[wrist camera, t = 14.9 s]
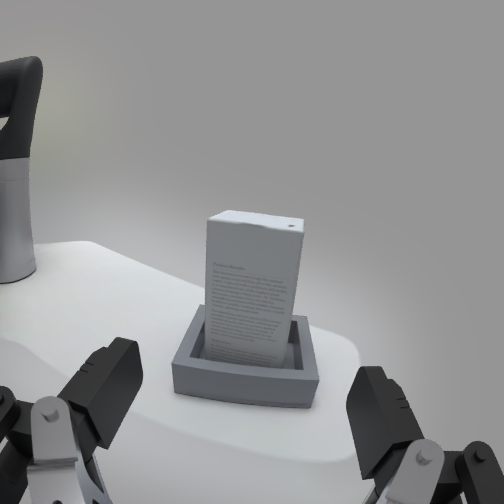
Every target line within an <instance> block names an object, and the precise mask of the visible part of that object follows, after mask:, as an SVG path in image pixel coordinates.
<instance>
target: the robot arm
mask: <svg viewBox="0 0 504 504" xmlns="http://www.w3.org/2000/svg"><path fill="white" fill-rule="evenodd" d="M42 77H43V67H42V62H41V60H40V59H39V58H38V57H36V56H30V57H24V58H19V59H15V60H10V61H6V62H1V63H0V118H4V117H9V118H8V121H7V123H6V124H5V126H4V127H3V128H2V130H0V283H5V282H12V281H16V280H19V279H22V278H24V277H26V276H28V275H30V274H31V273H32V272H33V271H34V270H35V269H36V263H35V256H34V249H33V240H32V231H31V218H30V199H29V160H30V158H28V157H30V146H31V141H32V134H33V125H34V119H35V113H36V107H37V103H38V98H39V94H40V89H41V84H42ZM142 381H143V370H142V364H141V358H140V352H139V346H138V343H137V342H136V341H133V340H129V339H125V338H121V337H116V338H115V339H114V340H113V342H112V343H111V344H110V345H109V347H108V348H107V347H102V348H100V349H99V350H97V351H95V352H93V353H92V354H91V355H90V357H89V358H88V359H87V360H86V361H85V364H83V365H82V366H81V367H80V370H79V371H77V372H76V374H75V375H74V376H73V377H72V378H71V380H70V381H69V382H68V383H67V385H66V386H65V387H64V388H63V390H62V391H61V392H60V394H59V395H58V396H57V397H53V396H49V397H44V398H42V399H39V400H38V401H37V402H36V403H35V404H34V403H28V402H24V401H19V400H16V398H15V396H14V395H13V393H12V391H11V390H10V389H9V388H7V387H4V386H0V443H1V441H2V440H3V439H4V437H6V438H7V440H8V442H7V443H6V445H5V447H4V448H3V450H2V451H1V453H0V504H19V502H20V500H21V498H22V496H23V494H24V492H25V490H26V488H27V485H28V484H29V490H30V496H31V501H32V504H113V503H112V502H111V500H110V498H109V496H108V493H107V490H106V488H105V485H104V482H103V479H102V476H101V473H100V470H99V467H98V464H97V461H96V457H95V454H94V450H95V448H96V447H97V446H99V447H102V448H104V449H107V450H108V448H109V446H110V444H111V442H112V440H113V438H114V436H115V435H116V433H117V431H118V428H119V427H120V425H121V423H122V421H123V419H124V417H125V415H126V413H127V412H128V410H129V408H130V406H131V404H132V402H133V400H134V398H135V396H136V395H137V393H138V391H139V389H140V387H141V385H142ZM346 410H347V415H348V419H349V423H350V427H351V431H352V435H353V439H354V444H355V448H356V452H357V457H358V461H359V466H360V470H361V475H362V480H366V479H372V478H374V482H375V485H374V486H373V487H372V488H371V490H370V492H369V493H368V495H367V496H366V498H365V500H364V501H363V503H362V504H463V503H462V499H461V496H460V494H461V493H462V492H464V494H465V497H466V501H467V504H504V475H503V473H502V471H501V468H500V466H499V464H498V461H497V459H496V457H495V455H494V453H493V451H492V449H491V447H490V446H489V445H487V444H486V443H484V442H481V441H475V442H472V443H470V444H469V445H468V446H467V447H466V448H465V449H464V450H463V451H443V450H442V448H441V447H440V446H439V445H438V444H437V443H436V442H434V441H431V440H428V439H425V438H424V436H423V434H422V432H421V429H420V427H419V425H418V423H417V420H416V418H415V416H414V414H413V412H412V409H411V408H410V406H409V403H408V401H407V400H406V397H405V395H404V393H403V391H402V389H401V387H400V386H399V385H398V384H396V382H395V381H394V380H393V379H387V377H386V375H385V373H384V371H383V369H382V367H380V366H367V367H366V366H362V367H360V368H359V370H358V372H357V374H356V377H355V379H354V382H353V384H352V387H351V389H350V391H349V394H348V396H347V401H346Z"/></svg>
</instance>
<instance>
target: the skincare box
mask: <svg viewBox="0 0 504 504" xmlns="http://www.w3.org/2000/svg"><path fill="white" fill-rule="evenodd" d="M304 225H305V222H304V219H297V218H289V217H280V216H272V215H265V214H257V213H249V212H240V211H231V210H227V211H224V212H222V213H220V214H218V215H215V216H213V217H210V218H209V219H208V220H207V241H206V278H205V360H210V361H217V362H224V363H231V364H239V365H247V366H257V367H267V368H278V369H282V367H283V363H284V358H285V352H286V347H287V342H288V336H289V330H290V324H291V318H292V312H293V306H294V300H295V293H296V287H297V280H298V273H299V266H300V259H301V251H302V244H303V237H304Z"/></svg>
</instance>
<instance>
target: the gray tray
mask: <svg viewBox="0 0 504 504" xmlns="http://www.w3.org/2000/svg"><path fill="white" fill-rule="evenodd" d="M172 373H173V383H174V391H175V392H176V393H180V394H185V395H191V396H196V397H202V398H207V399H214V400H220V401H227V402H235V403H243V404H253V405H263V406H276V407H293V408H310V406H311V403H312V401H313V398H314V395H315V392H316V389H317V386H318V383H319V375H318V370H317V365H316V360H315V354H314V349H313V344H312V339H311V334H310V329H309V325H308V320H307V316H298V315H292V318H291V324H290V330H289V336H288V342H287V347H286V352H285V358H284V363H283V367H282V369H278V368H267V367H257V366H247V365H239V364H231V363H224V362H217V361H210V360H205V305H200V306H199V308H198V310H197V312H196V314H195V316H194V318H193V320H192V322H191V324H190V326H189V328H188V330H187V332H186V334H185V336H184V338H183V340H182V342H181V344H180V346H179V349H178V351H177V353H176V355H175V357H174V359H173V361H172Z"/></svg>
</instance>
